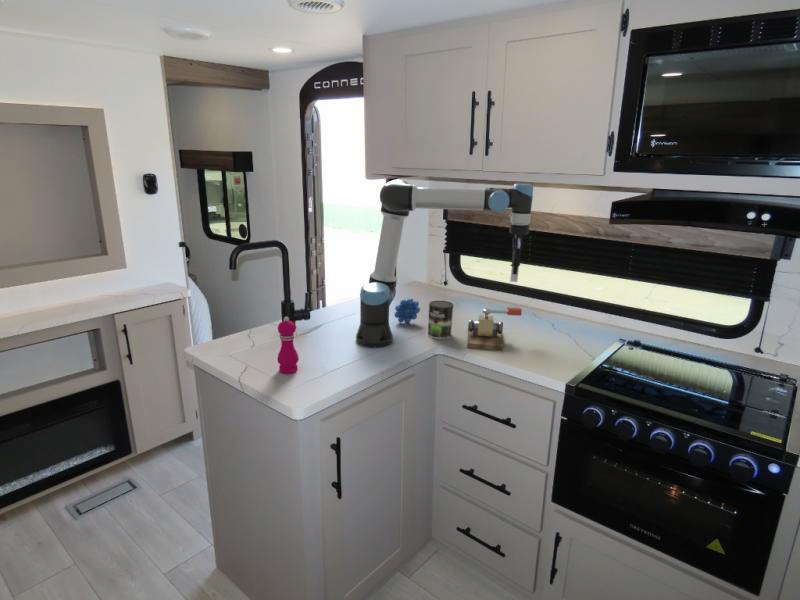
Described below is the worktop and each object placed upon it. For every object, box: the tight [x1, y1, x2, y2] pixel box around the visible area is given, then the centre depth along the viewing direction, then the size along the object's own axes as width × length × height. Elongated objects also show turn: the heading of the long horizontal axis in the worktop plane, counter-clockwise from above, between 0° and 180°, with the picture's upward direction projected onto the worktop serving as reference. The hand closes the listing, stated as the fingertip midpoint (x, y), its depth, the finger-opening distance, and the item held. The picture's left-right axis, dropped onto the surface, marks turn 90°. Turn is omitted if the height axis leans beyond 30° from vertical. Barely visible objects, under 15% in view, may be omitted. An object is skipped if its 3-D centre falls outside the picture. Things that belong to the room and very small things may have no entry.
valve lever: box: [482, 306, 523, 316], centre depth 201 cm, size 16×3×2 cm, turn 88°
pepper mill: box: [276, 316, 300, 375], centre depth 169 cm, size 7×7×20 cm
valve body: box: [467, 313, 504, 338], centre depth 203 cm, size 14×6×10 cm, turn 81°
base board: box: [466, 330, 504, 351], centre depth 204 cm, size 14×20×2 cm
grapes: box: [394, 297, 421, 324], centre depth 222 cm, size 12×7×12 cm, turn 90°
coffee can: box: [427, 300, 454, 340], centre depth 207 cm, size 10×10×14 cm
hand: (513, 281), depth 199 cm, fingers closed
